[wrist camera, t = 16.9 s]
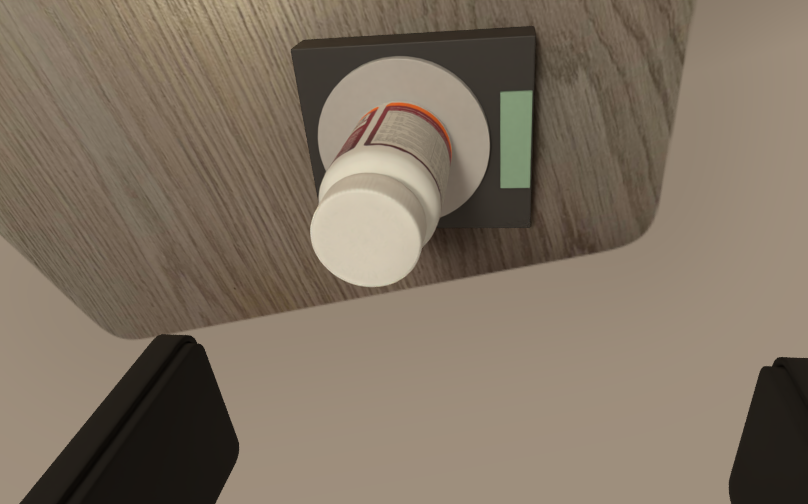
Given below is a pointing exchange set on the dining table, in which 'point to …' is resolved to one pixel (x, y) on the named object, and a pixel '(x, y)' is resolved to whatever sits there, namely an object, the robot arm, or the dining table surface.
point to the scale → (434, 108)
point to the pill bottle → (382, 195)
